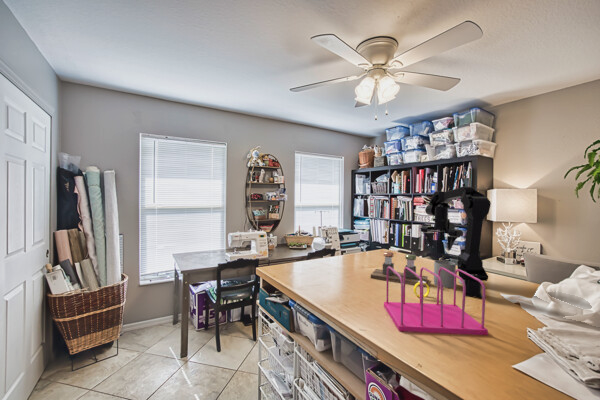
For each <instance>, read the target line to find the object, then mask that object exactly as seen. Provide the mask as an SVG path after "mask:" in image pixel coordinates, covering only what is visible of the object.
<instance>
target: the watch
mask: <svg viewBox="0 0 600 400" xmlns="http://www.w3.org/2000/svg"><path fill="white" fill-rule="evenodd" d="M425 284H426V282H424V281H423V285H425ZM418 285H420V281H418V283H416V284H415V285H413V293H414V294H415V296H416V297H418V298H420V294H417V288H418V287H419V286H418ZM430 292H431V288H430V286H429V285H428V283H427V284H426V292H425V294H424V293H423V298H427V297H428V296H429V295H430Z"/></svg>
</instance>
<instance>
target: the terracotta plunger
mask: <svg viewBox="0 0 600 400" xmlns="http://www.w3.org/2000/svg"><path fill="white" fill-rule="evenodd" d="M394 255H395V253H394V252H391V251H383V257H384V262H385V264H387V265H392V263H393V257H395V256H394Z"/></svg>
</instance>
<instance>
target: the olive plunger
mask: <svg viewBox="0 0 600 400" xmlns="http://www.w3.org/2000/svg"><path fill="white" fill-rule="evenodd" d="M405 259H406V265H407V267H409V268H414V266H415V261H416V260H417V254H409V253H405Z"/></svg>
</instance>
